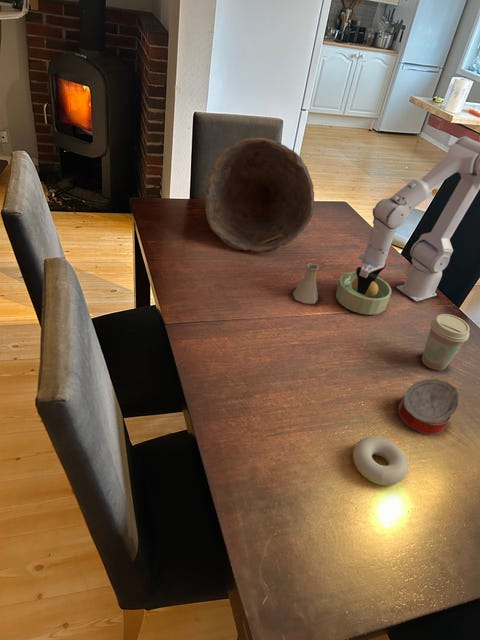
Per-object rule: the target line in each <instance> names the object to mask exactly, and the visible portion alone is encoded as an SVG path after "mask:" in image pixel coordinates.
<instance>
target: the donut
mask: <svg viewBox="0 0 480 640" xmlns="http://www.w3.org/2000/svg"><path fill="white" fill-rule="evenodd" d="M374 455H377V456H379V457H382V458H384V460H386V461H387V463H388V465H382V464H379V463H378V462H376V461H375V460H374V458H373V456H374ZM352 458H353V464H354V465H355V467H356V470H357V471H358V472H359V473H360V475H362V476H363V477H364V478H366V480H368V481H370V482H372V483H374V484H377V485H379V486H394V485H397V484H399V483H400V482H403V480H404V479H405V477H406V476H407V474H408V469H409V464H408V459H407V456H406V454H405V453H404V452H403V449H401V448H400V447H399V446H398V445H397V444H396V443H395V442H393V441H391V440H390V439H388V438H385V437H382V436H375V435H373V436H372V435H371V436H366V437H364V438H362V439H360V440H359V441H358V442H357V443H356V444H355V446H354V447H353V452H352Z"/></svg>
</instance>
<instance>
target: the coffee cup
mask: <svg viewBox="0 0 480 640" xmlns="http://www.w3.org/2000/svg"><path fill="white" fill-rule="evenodd" d="M470 329H471V328H470V326H469V324H468V323H467V322H466V321H465V319H462V318H460V317H458V316H456V315H453V314H449V313H441V314H438V315H436V317H435V318H433V320H432V321H431V323H430V329H429V333H428V337H427V339H426V343H425V345H424V348H423V353H422V355H421V356H422V357H421V361H422V363H423V365H425V367H427V368H429V369H430V370H433V371H437V372H438V371H444V370H445V369H446V368H447V367H448V366H449V364H450V363H451V361H452V360H453V359H454V357H455V356H456V355H457V352H458V351H459V350H460V349H461V347H462V346H463V344H464V343H465V342H466V341H468V339H469V337H470Z"/></svg>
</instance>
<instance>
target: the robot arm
mask: <svg viewBox="0 0 480 640" xmlns="http://www.w3.org/2000/svg"><path fill="white" fill-rule="evenodd" d="M456 173H458V174H459V175H460V180H459V182H458V183H457V185H456V187H455V189H454V191H453V192H452V194H451V196H450V197H449V199H448V201H447V203H446V204H445V206H444V208H443V210H442V211H441V213H440V215H439V217H438V219H437V221H436V222H435V224H434V226H433V228H432V229H431V231H430V232H426V233H422V234H420V236H419V238H418V239H417V241H415V242H414V244H413V245H412V247H411V249H410V252H409V256H410V257H411V260H410V262H411V266H410V269H409V271H408V274H407V275H406V279H405V280H404V284H400V285H397V286H396V289H397V290H398V291H400V292H401V293H402V294H404V295H406V297H408V298H410V299H411V300H413V301H414V302H420V301H423V300H426V299H430V298H434V297H436V296H437V293H436V290H437V288H438V286H439V284H440V281H441V279H442V277H443V271H444V270H445V269H446V268H447V267H448V265H449V263H450V259H451V256H452V254H453V252H454V249H453V246H452V243H451V238H452V237H453V235H454V233H455V231H456V230H457V228H458V226H459V224H460V223H461V221H462V220H463V218H464V216H465V214H466V213H467V212H468V209H469V208H470V206H471V204H472V203H473V201H474V199H475V198H476V196H477V194H478V192H479V191H480V141H477V140H474V139H472V138H470V137H469V136H462V137H459V138H458V139H456V141H455V142H454V143H453V144H451V145H450V146H449V148H448V150H447V154H446V156H444V157H443V158H442V159H441V160H440V161H439V162H438V163H437V164H436V165H435V166H433V167H432V168H431V169H430V170H429V171H428V172H427V173H426V174H425V175H424V176H423V177H422V178H420V179H412V180H410V181H409V182H408V183H407V184H406V185H404V186H403V187H401V189H400V190H398V191H397V192H396V193H394V194H393V195H391V196H390V197H388V198H383V199H380V200H379V201H378V202H377V203H376V205H375V206H374V207H373V208H372V217H373V220H372V225H373V226H372V228H371V231H370V235H369V238H368V240H367V243H366V244H367V245H366V248H365V251H364V253H361V254H359V255H358V260H360V261H361V266H358V267H357V268H356V270H355V272H356V274H357V278H358V286H357V292H358V293H361V294H363V295H364V294H365V293H366V292H367V290H368V288H369V286H370V284H371V283H372V281H373V282H374V281H375V279H376V278H377V277H379V274H380V273H381V272H382V271H383V270H384V269H385V268H386V266H387V264H386V260H387V257H388V254H389V252H390V249H391V246H392V243H393V240H394V239H395V238H394V237H395V234H396V232H397V229H398V228H399V227H400V226H402V225H403V224H404V223H405V222H406V220H407V219H408V216H410V214H411V211H413V210H414V209H416V208H417V207H418V206H420V204H421V203H423V202H424V201H425V200H427V199H428V198H429V194H430V191H431V190H432V189H433V188H435V187H436V186H438V185H439V184H441V183H442V182H444V181H445V180H447V179H448V178H450V177H451V176H453V175H454V174H456Z"/></svg>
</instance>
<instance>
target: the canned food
mask: <svg viewBox="0 0 480 640" xmlns="http://www.w3.org/2000/svg"><path fill="white" fill-rule="evenodd" d="M458 405H459V393H458V390H457V388H456V387H454V386H453V385H452V384H451V383H450V382H448V381H445V380H441V379H437V378H435V379H433V378H432V379H427V378H426V379H422V380H420V381H416V382H415V383H413V384H412V385H411V386H409V387H408V388H407V390H406V392H405V393H403V396H402V398H401V401H400V403H399V404H398V407H397V409H398V414H399V415H398V416H399V417H400V419H401V420H402V421H403V422H404V424H405V425H407V427H409V428H411V429H412V430H414V431H416V432H419V433H421V434H424V435H437V434H440V433H442V432H443V431H444V430H445V428H446V426H447V425H448V423H449V421H450V420H451V417H452V415H454V414H455V412H456V410H457V408H458Z"/></svg>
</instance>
